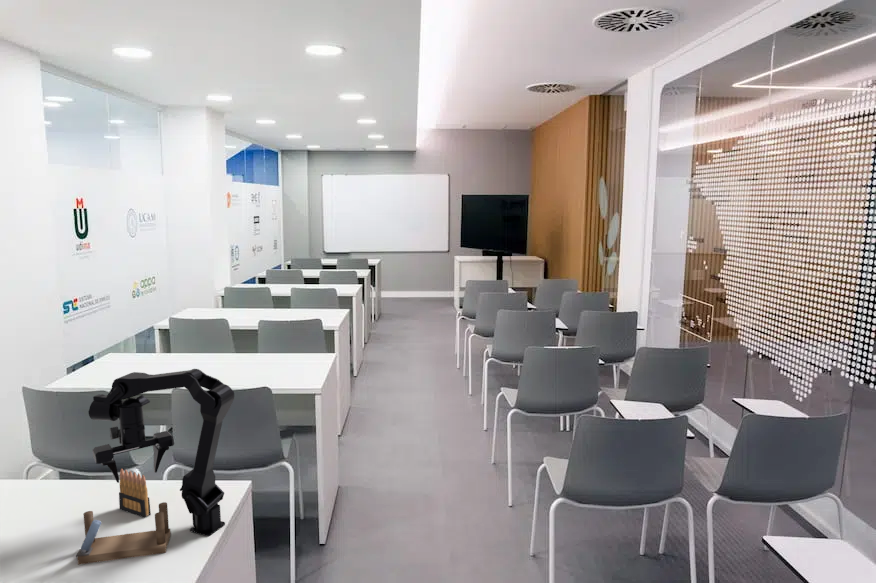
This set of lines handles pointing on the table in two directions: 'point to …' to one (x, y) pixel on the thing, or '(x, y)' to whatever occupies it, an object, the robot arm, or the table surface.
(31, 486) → the table surface
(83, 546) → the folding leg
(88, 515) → the stool
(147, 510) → the ammunition clip
